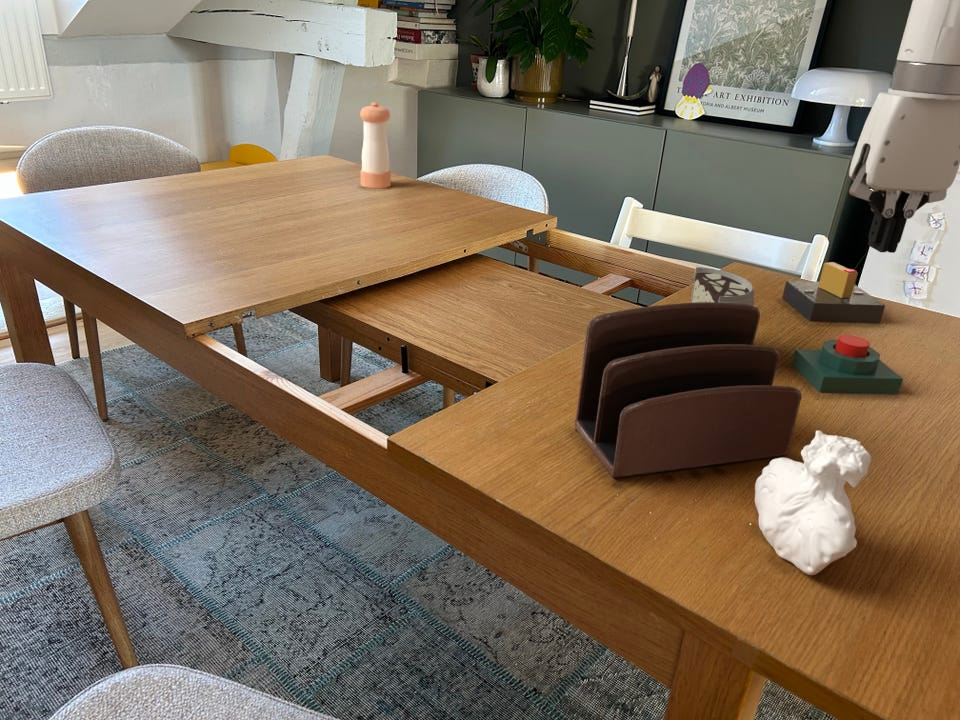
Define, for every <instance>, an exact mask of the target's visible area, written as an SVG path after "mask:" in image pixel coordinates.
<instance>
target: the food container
mask: <svg viewBox="0 0 960 720" xmlns="http://www.w3.org/2000/svg"><path fill="white" fill-rule="evenodd" d="M692 281H693V285H692V291H691V298H690V303H694V302H722V303H736V304H746V305H751V306H754V305H755V290H754V289H753V288H754V287H753V285H752V283H751V282H750V281H749V280H748V279H746V278H745V277H743V276H740V275H737V274H735V273H732V272H729V271H725V270H721V269H716V268H711V267H701V266H696V267H695V270H694V273H693V277H692ZM754 307H755V306H754Z"/></svg>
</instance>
